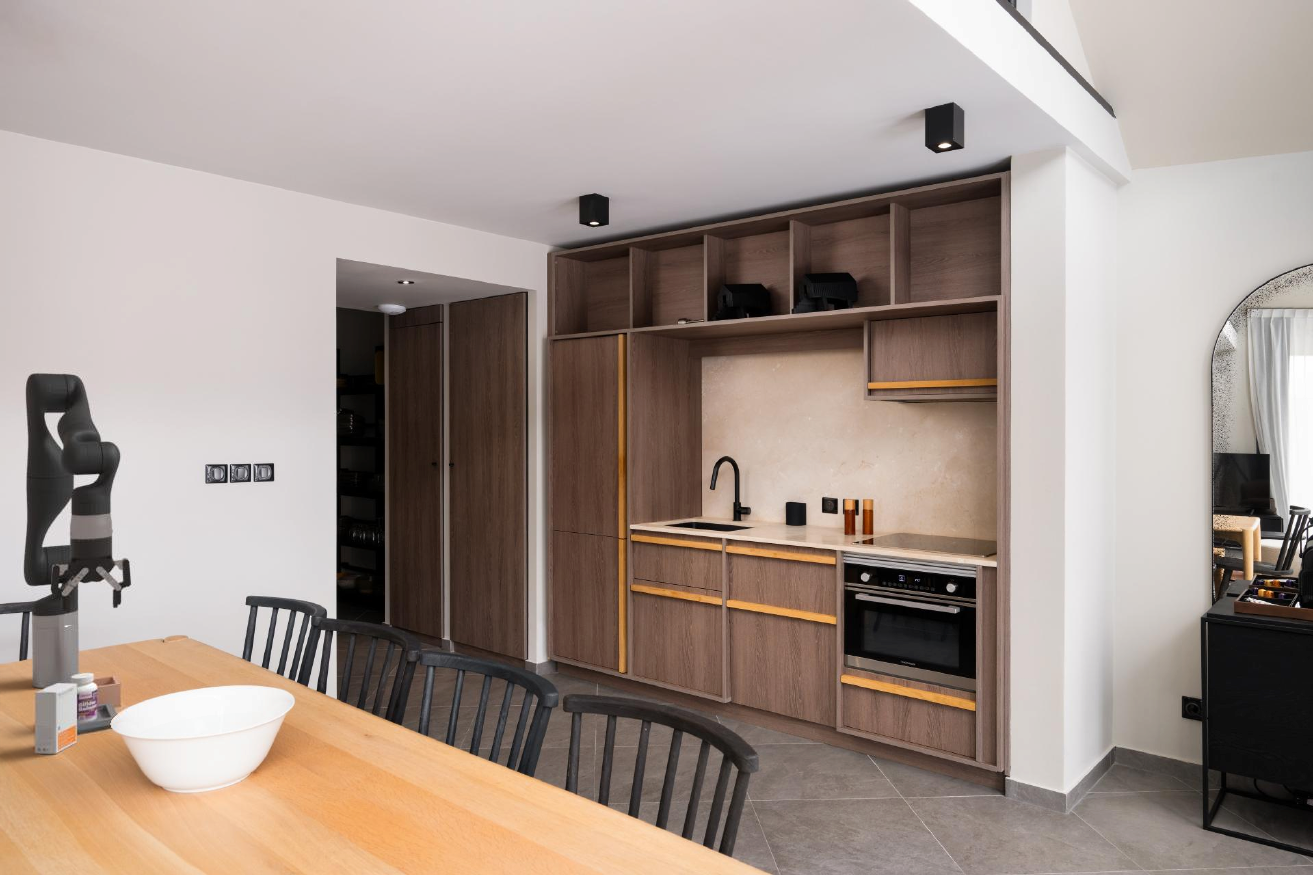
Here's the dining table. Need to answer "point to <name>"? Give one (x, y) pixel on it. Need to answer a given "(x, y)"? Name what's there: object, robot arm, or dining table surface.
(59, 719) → the skincare box
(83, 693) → the pill bottle
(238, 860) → the dining table surface
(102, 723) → the charcoal tray
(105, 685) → the open beige tray box
